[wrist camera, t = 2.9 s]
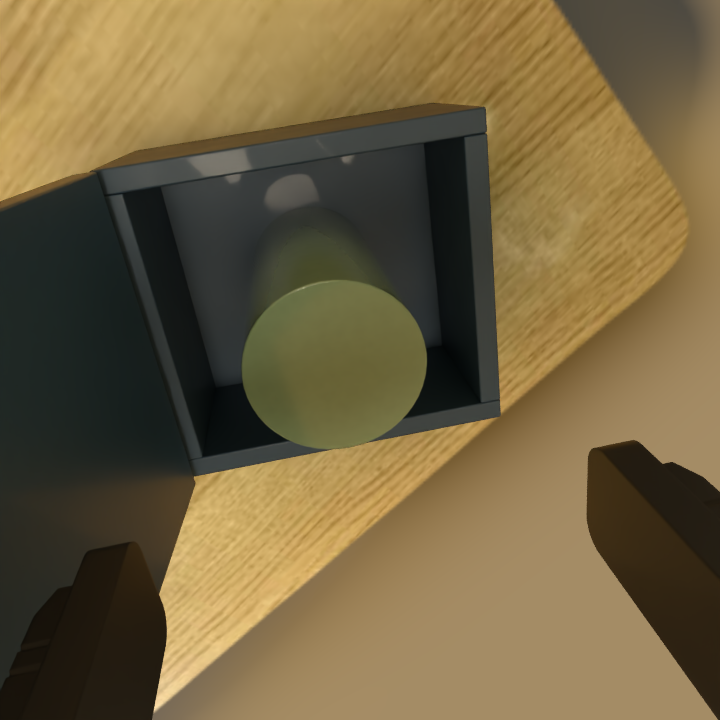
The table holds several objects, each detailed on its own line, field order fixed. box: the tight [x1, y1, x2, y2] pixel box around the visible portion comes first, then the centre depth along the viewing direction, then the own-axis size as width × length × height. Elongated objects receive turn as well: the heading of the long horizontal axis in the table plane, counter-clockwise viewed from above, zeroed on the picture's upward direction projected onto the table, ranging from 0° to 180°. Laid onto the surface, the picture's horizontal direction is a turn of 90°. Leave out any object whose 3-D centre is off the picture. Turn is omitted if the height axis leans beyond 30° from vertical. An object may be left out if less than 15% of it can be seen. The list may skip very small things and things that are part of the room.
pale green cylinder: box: [241, 206, 427, 449], centre depth 22 cm, size 5×7×11 cm
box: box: [90, 103, 501, 477], centre depth 24 cm, size 13×12×7 cm
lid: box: [0, 172, 195, 690], centre depth 14 cm, size 13×12×1 cm
